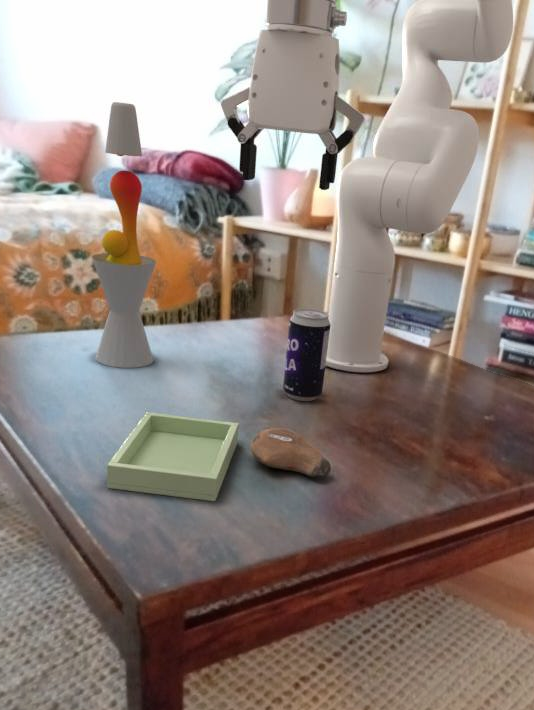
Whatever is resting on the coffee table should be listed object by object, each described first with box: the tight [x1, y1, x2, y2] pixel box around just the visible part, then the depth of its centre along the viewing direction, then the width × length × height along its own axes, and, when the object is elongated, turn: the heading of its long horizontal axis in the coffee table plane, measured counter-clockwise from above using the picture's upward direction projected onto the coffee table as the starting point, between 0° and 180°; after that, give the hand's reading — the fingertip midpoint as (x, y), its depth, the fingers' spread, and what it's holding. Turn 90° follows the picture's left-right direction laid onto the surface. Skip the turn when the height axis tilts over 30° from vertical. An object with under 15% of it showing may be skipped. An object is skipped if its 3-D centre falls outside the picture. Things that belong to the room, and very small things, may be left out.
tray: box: [106, 411, 239, 502], centre depth 77 cm, size 15×11×3 cm
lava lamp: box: [91, 101, 157, 369], centre depth 101 cm, size 9×9×35 cm
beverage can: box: [282, 308, 330, 402], centre depth 99 cm, size 6×6×12 cm
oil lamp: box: [249, 427, 332, 478], centre depth 79 cm, size 9×4×8 cm
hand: (286, 184), depth 87 cm, fingers open, 9 cm apart
